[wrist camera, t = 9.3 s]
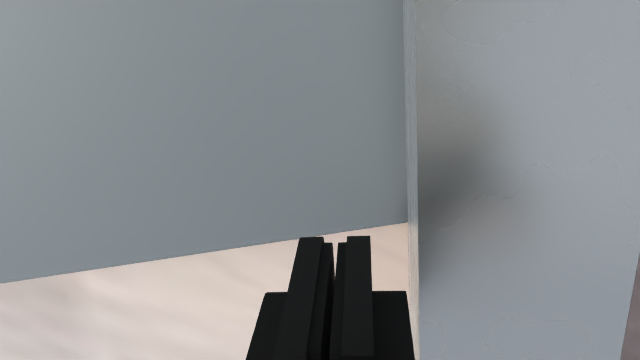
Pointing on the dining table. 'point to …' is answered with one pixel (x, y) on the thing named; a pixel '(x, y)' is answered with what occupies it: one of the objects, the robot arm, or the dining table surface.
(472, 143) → the swing bar
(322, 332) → the robot arm
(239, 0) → the label board
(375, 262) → the dining table surface
